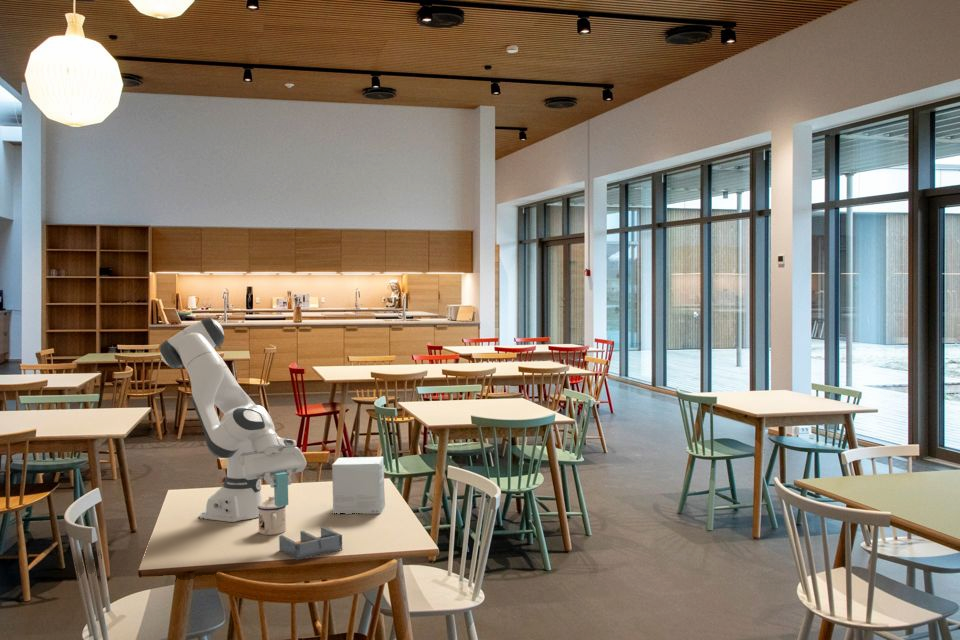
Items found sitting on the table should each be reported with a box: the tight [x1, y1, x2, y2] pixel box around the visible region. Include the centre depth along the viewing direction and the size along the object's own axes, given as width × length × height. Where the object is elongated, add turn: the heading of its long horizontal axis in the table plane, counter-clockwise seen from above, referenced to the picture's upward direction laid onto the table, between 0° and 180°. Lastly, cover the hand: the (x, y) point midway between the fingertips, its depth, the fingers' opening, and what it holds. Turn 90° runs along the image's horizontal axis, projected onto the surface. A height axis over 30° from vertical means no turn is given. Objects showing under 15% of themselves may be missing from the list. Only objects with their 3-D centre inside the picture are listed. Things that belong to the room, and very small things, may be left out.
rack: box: [278, 526, 343, 561], centre depth 249 cm, size 12×15×4 cm
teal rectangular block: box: [273, 472, 289, 507], centre depth 256 cm, size 2×4×10 cm
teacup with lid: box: [258, 495, 287, 536], centre depth 268 cm, size 12×9×12 cm
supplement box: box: [331, 456, 386, 515], centre depth 295 cm, size 17×13×18 cm
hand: (281, 485), depth 255 cm, fingers closed on teal rectangular block, 3 cm apart
